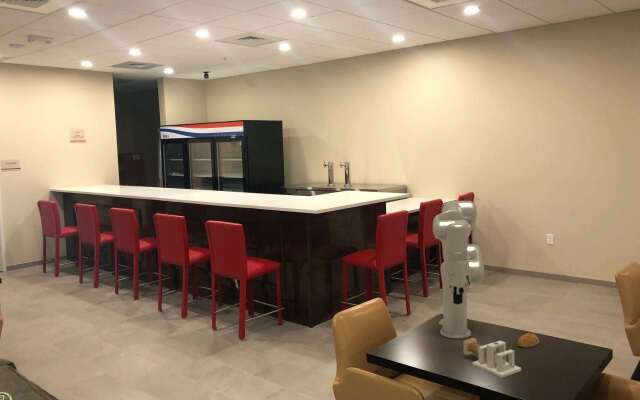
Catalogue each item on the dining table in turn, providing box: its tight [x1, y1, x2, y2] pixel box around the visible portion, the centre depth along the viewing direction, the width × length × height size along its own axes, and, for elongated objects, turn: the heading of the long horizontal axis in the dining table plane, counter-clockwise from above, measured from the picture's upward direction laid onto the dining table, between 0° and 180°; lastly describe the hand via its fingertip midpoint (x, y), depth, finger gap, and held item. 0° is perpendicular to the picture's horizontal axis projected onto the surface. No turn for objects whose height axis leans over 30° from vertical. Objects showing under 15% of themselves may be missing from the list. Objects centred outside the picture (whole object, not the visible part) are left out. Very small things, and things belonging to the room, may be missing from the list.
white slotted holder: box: [471, 340, 522, 379], centre depth 181 cm, size 13×10×9 cm
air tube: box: [462, 337, 507, 363], centre depth 186 cm, size 16×5×5 cm, turn 30°
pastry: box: [516, 332, 540, 349], centre depth 202 cm, size 9×7×4 cm
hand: (457, 303), depth 195 cm, fingers closed
